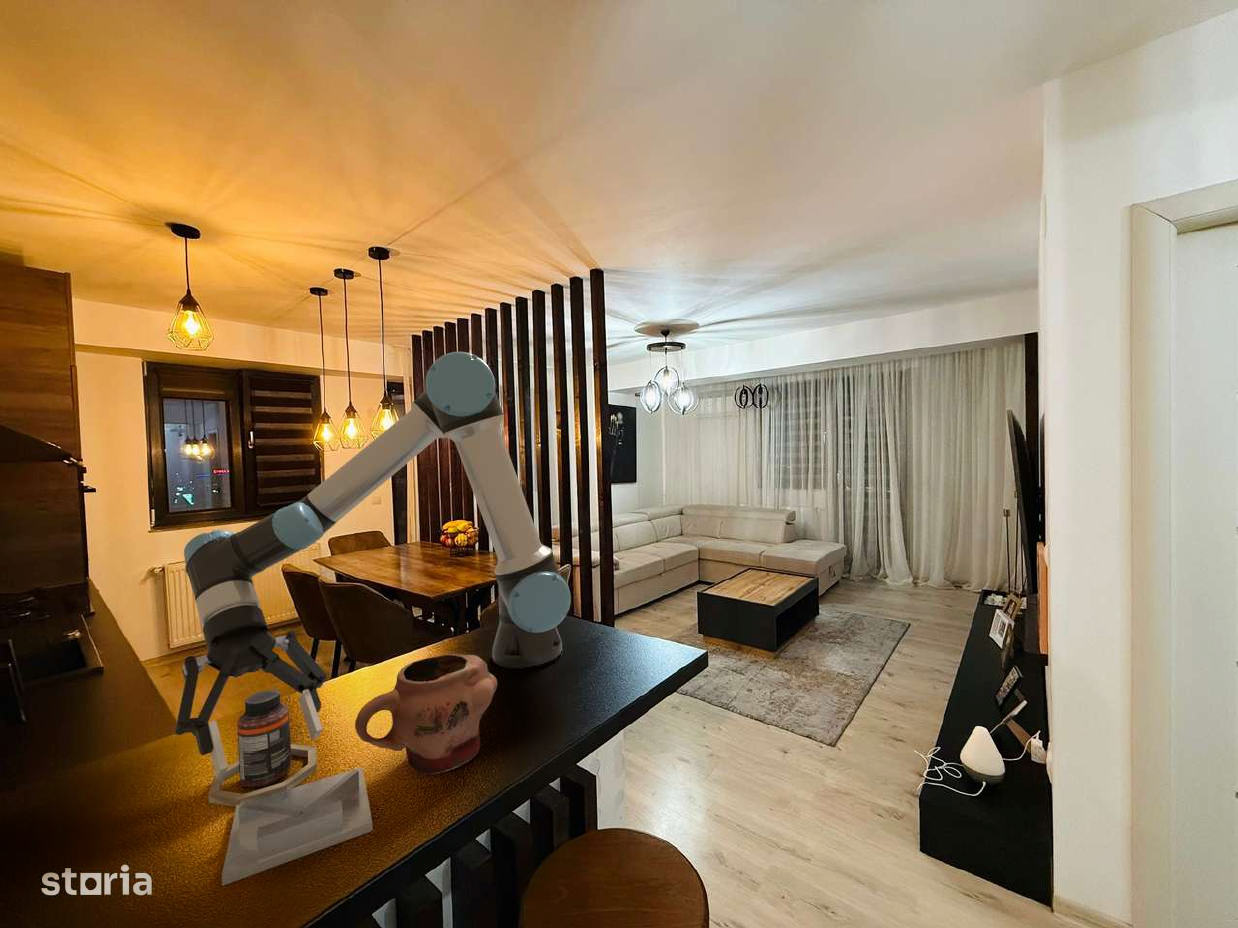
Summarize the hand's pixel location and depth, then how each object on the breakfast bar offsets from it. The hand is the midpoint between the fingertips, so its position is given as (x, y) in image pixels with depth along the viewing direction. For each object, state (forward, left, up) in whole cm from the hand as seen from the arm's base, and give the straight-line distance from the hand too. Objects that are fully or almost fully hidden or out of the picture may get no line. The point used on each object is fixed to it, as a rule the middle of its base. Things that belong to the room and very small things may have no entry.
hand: (272, 752), depth 69 cm
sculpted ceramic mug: (-19, +7, -4) cm, 21 cm away
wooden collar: (+1, -3, -4) cm, 5 cm away
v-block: (-3, +10, -4) cm, 11 cm away
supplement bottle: (+1, -3, -4) cm, 5 cm away
